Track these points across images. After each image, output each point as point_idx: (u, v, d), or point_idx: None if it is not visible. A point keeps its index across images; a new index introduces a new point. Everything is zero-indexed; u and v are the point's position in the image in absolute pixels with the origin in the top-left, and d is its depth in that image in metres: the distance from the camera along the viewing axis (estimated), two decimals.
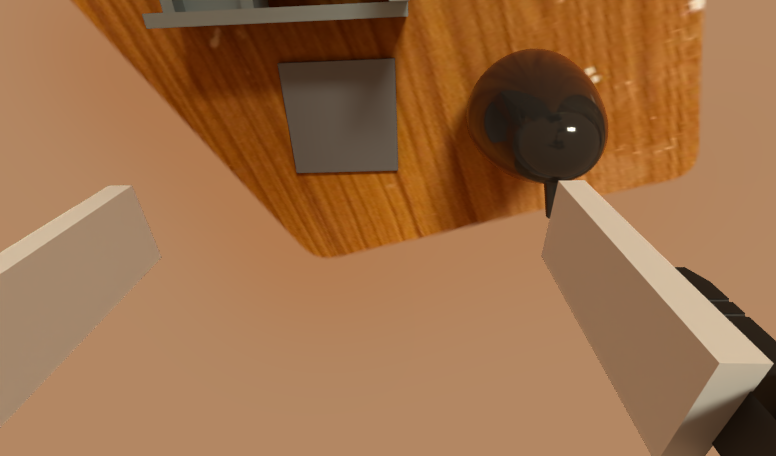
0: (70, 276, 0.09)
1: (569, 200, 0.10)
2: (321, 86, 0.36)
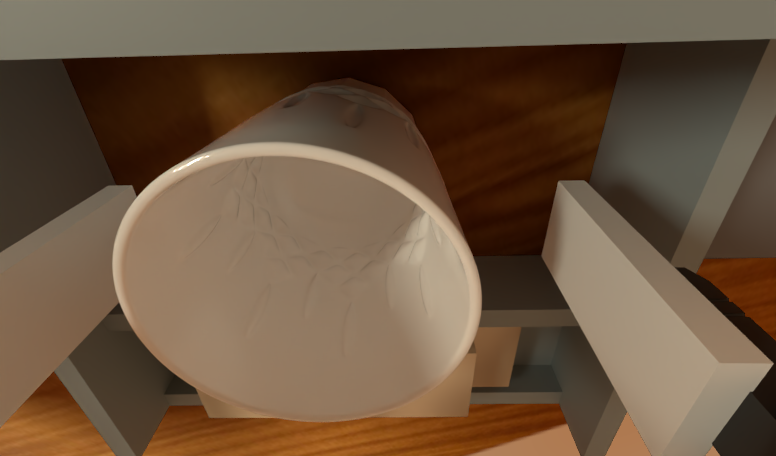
0: (70, 276, 0.09)
1: (569, 200, 0.10)
2: (743, 187, 0.17)
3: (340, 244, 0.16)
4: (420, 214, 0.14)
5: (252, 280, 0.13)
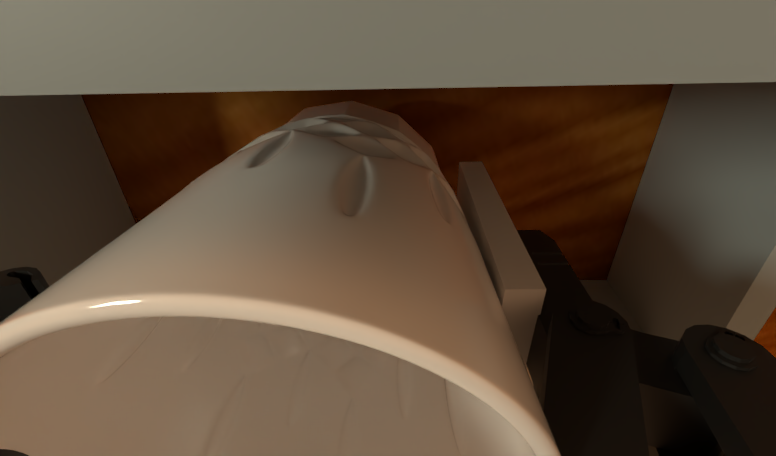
0: None
1: (462, 177, 0.12)
2: None
3: None
4: None
5: (219, 375, 0.09)
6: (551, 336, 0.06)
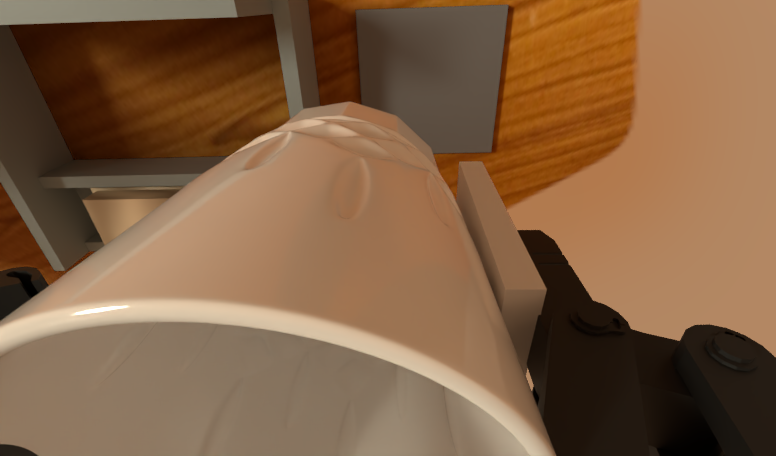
0: None
1: (462, 177, 0.12)
2: (388, 109, 0.31)
3: None
4: None
5: (217, 377, 0.09)
6: (551, 336, 0.06)
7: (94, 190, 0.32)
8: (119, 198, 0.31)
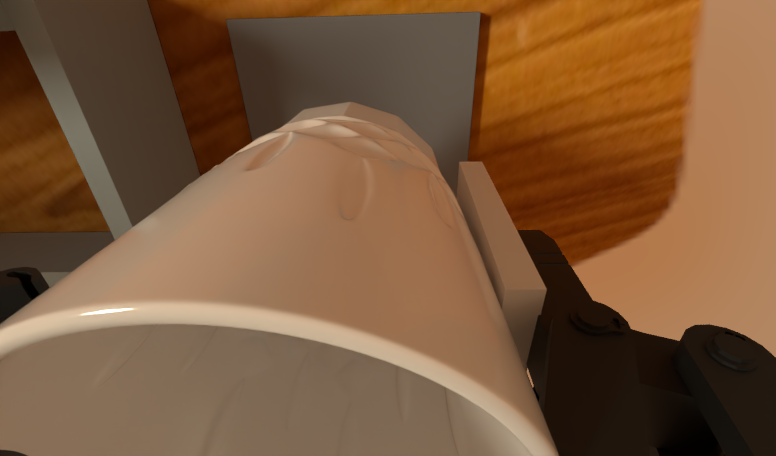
0: None
1: (462, 177, 0.12)
2: None
3: None
4: None
5: (218, 378, 0.09)
6: (551, 336, 0.06)
7: None
8: None
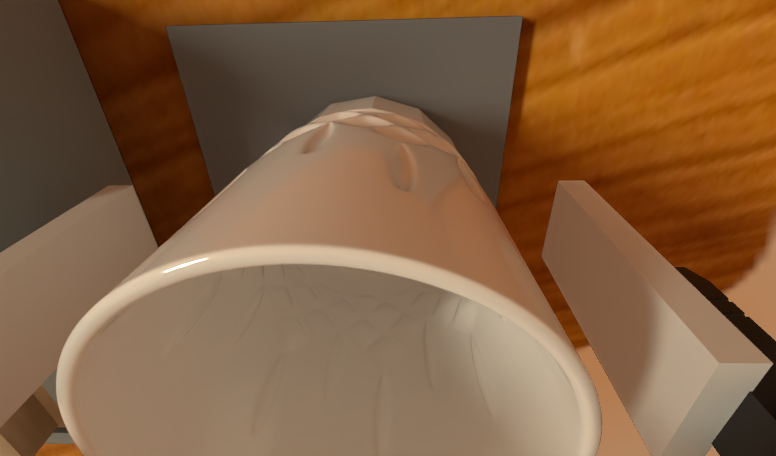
0: (70, 276, 0.09)
1: (569, 200, 0.10)
2: None
3: (365, 291, 0.14)
4: None
5: (261, 352, 0.10)
6: None
7: None
8: None
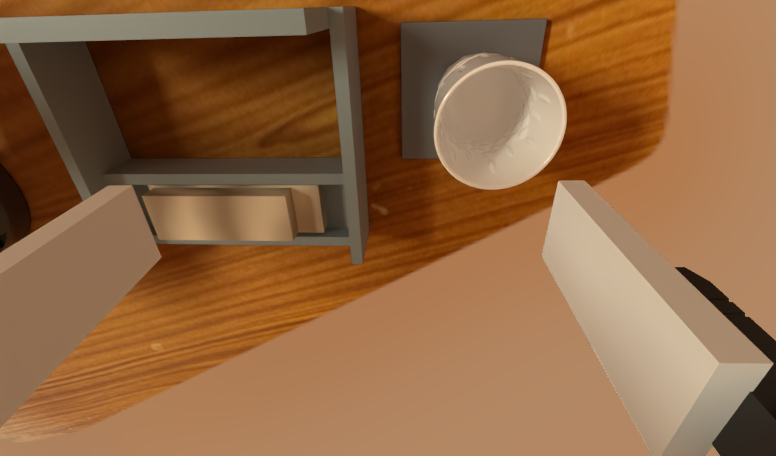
0: (70, 276, 0.09)
1: (569, 200, 0.10)
2: (426, 115, 0.32)
3: (473, 141, 0.31)
4: (521, 119, 0.29)
5: (447, 144, 0.27)
6: None
7: (151, 187, 0.35)
8: (174, 195, 0.33)
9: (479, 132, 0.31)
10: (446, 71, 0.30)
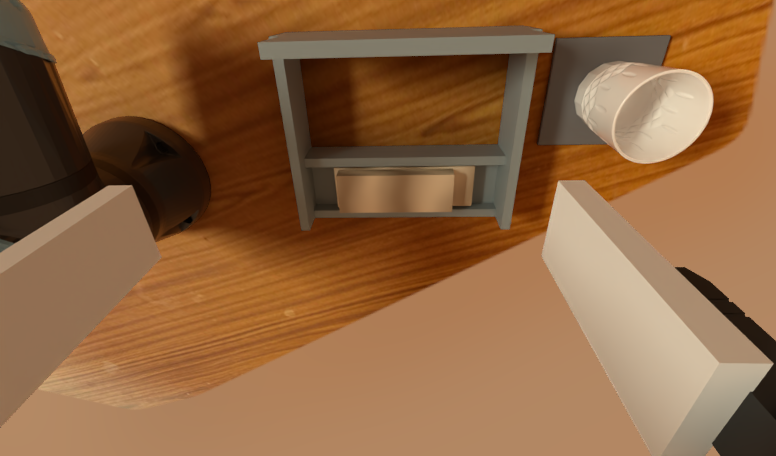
0: (70, 276, 0.09)
1: (569, 200, 0.10)
2: (564, 110, 0.41)
3: None
4: (651, 112, 0.38)
5: None
6: None
7: (336, 169, 0.43)
8: (362, 175, 0.42)
9: None
10: (590, 75, 0.38)
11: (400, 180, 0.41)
